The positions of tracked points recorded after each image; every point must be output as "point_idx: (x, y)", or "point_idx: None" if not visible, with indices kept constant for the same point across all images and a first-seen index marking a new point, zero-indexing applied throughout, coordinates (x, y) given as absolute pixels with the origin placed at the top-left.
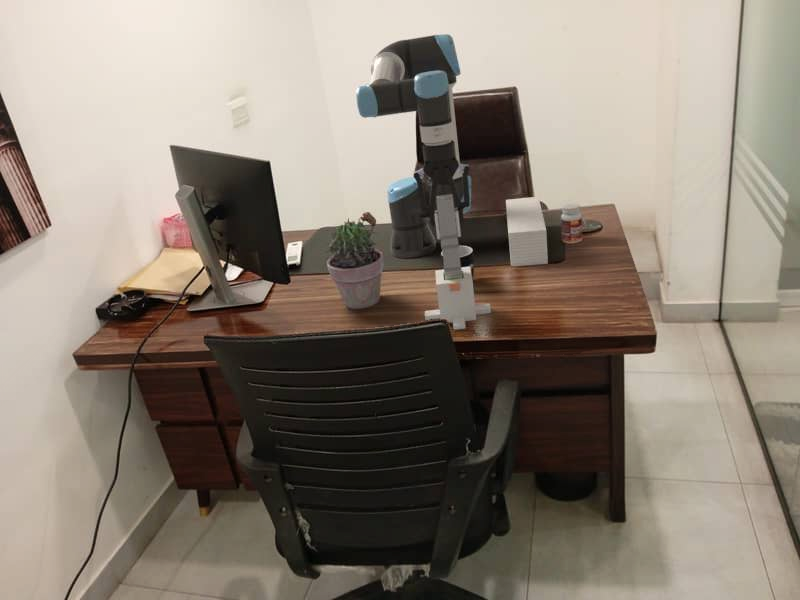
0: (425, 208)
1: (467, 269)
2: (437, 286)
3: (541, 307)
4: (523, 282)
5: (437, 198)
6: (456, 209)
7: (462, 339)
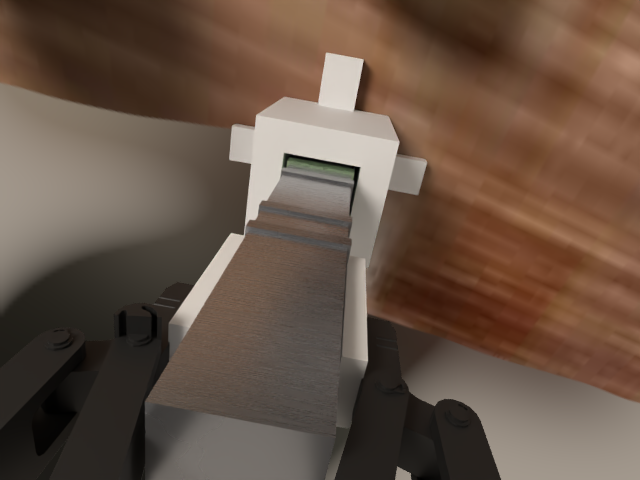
0: (73, 422)
1: (380, 167)
2: None
3: (554, 218)
4: (612, 10)
5: (159, 468)
6: (348, 392)
7: None
